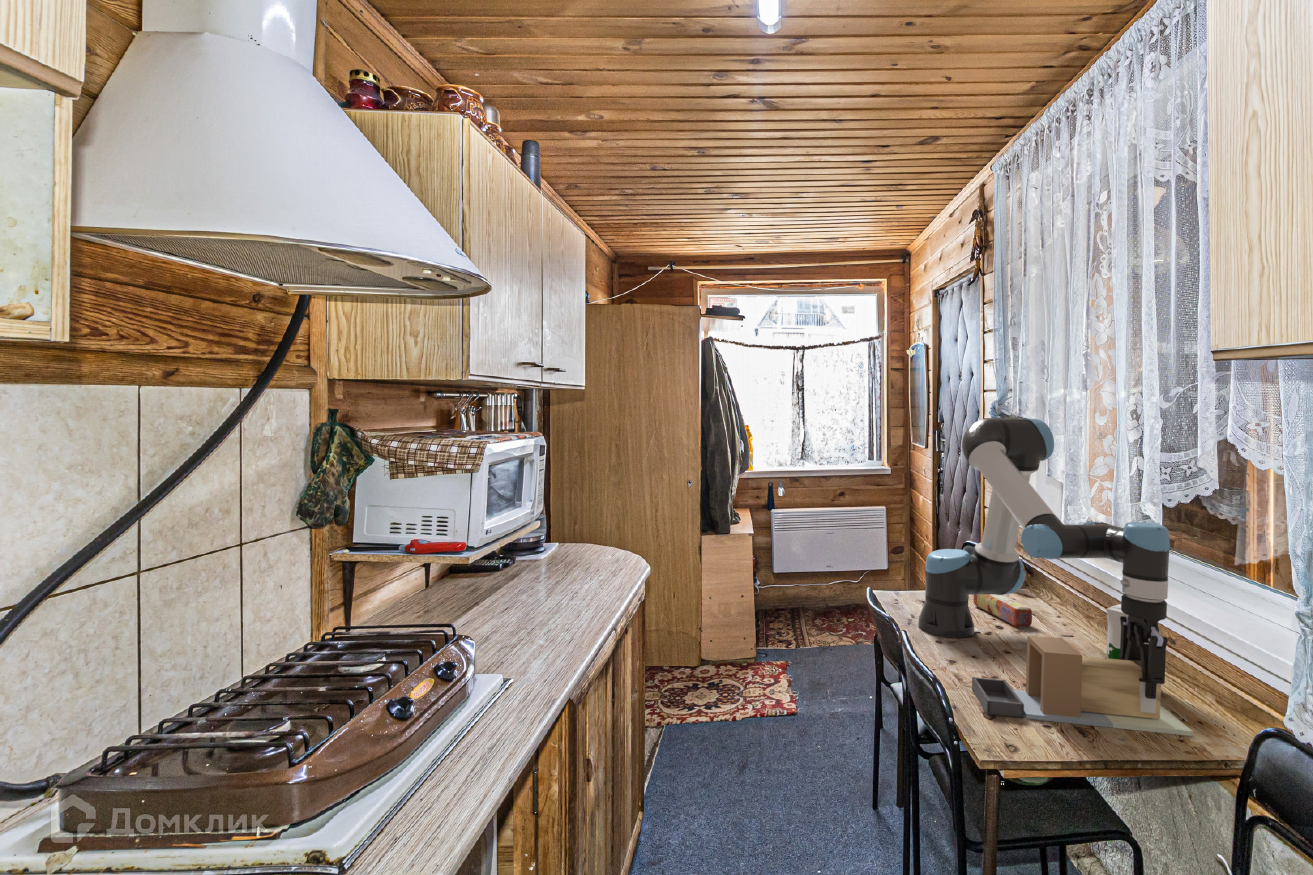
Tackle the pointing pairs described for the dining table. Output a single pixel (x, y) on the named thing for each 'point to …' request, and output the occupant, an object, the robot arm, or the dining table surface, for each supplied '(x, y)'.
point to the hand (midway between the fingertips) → (1139, 704)
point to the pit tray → (997, 697)
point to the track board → (1074, 691)
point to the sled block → (1113, 687)
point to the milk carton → (1114, 631)
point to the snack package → (1005, 609)
